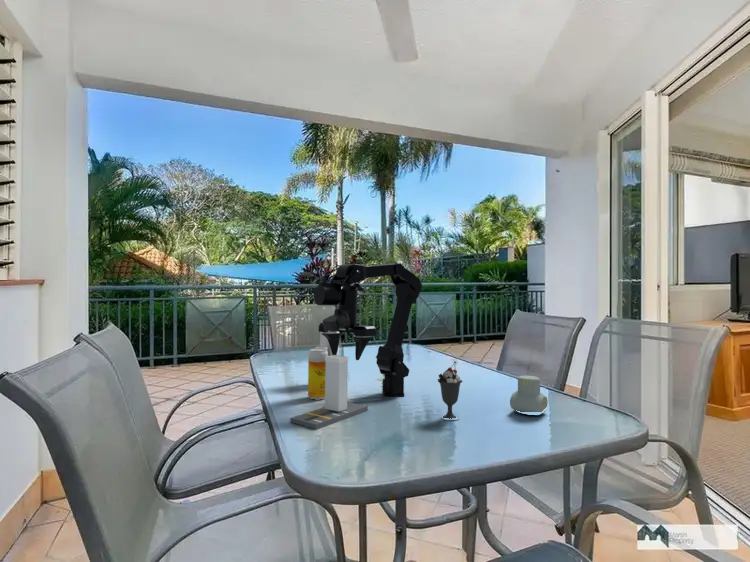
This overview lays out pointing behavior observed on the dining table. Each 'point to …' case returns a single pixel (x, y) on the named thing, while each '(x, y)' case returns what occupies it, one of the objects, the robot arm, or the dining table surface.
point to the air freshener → (528, 395)
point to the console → (327, 416)
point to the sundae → (449, 389)
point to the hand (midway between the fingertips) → (345, 358)
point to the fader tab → (336, 382)
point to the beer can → (316, 373)
